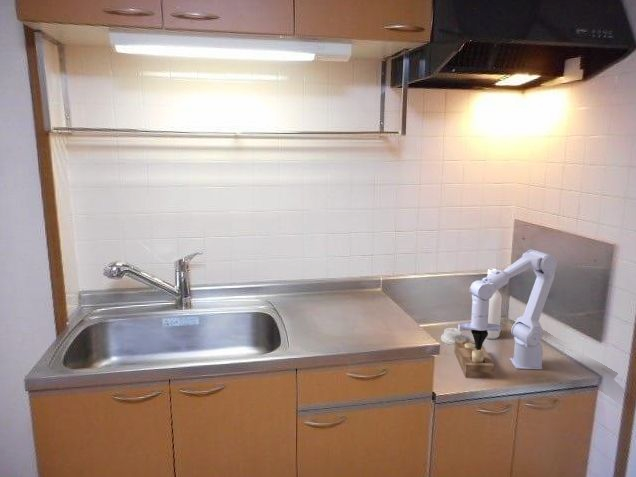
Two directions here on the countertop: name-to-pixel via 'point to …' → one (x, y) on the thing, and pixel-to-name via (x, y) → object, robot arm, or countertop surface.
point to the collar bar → (468, 366)
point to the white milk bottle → (494, 310)
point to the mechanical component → (452, 336)
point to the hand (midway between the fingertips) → (478, 348)
